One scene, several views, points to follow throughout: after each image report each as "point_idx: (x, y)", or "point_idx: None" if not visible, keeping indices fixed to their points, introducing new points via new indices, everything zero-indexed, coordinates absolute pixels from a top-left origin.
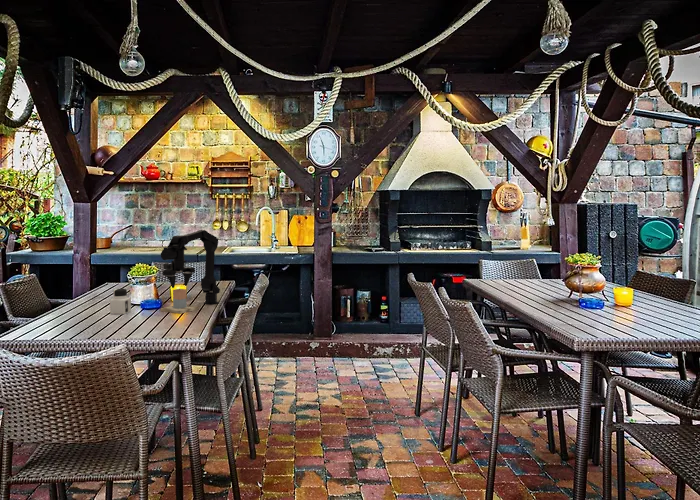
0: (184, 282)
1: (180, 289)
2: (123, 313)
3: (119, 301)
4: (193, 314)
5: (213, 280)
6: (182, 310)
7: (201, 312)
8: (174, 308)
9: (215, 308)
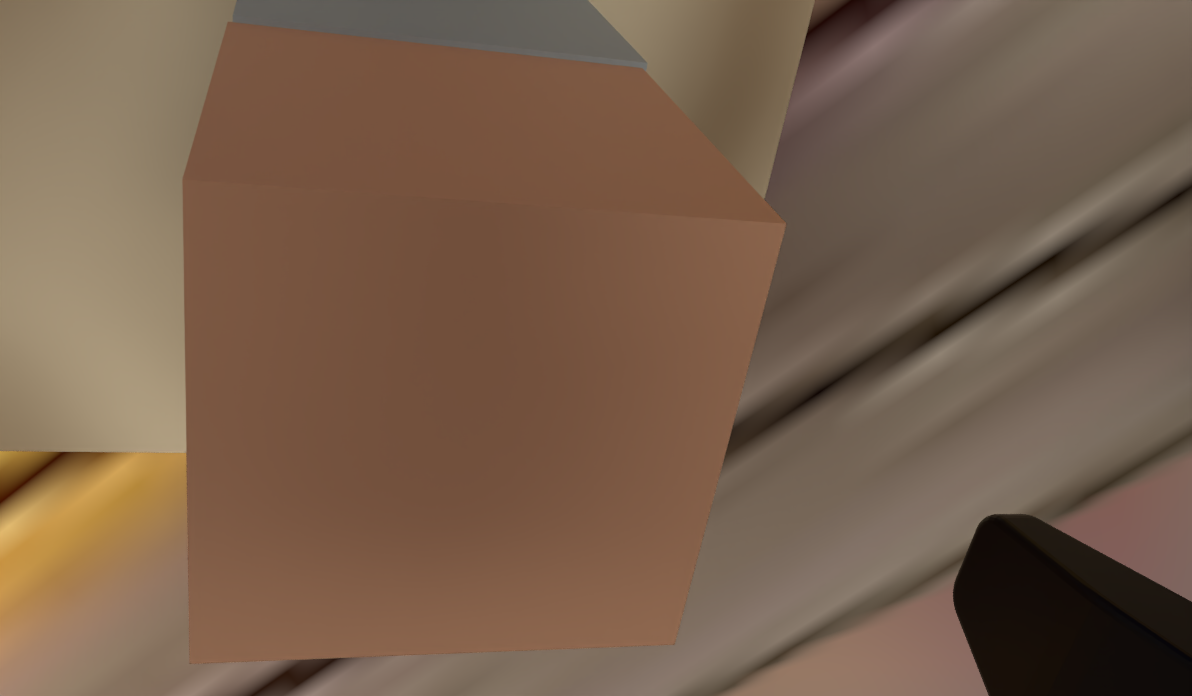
0: (1129, 643)
1: (539, 455)
2: None
3: None
4: (136, 685)
5: None
6: (99, 449)
7: (404, 668)
8: (186, 61)
9: (871, 611)
